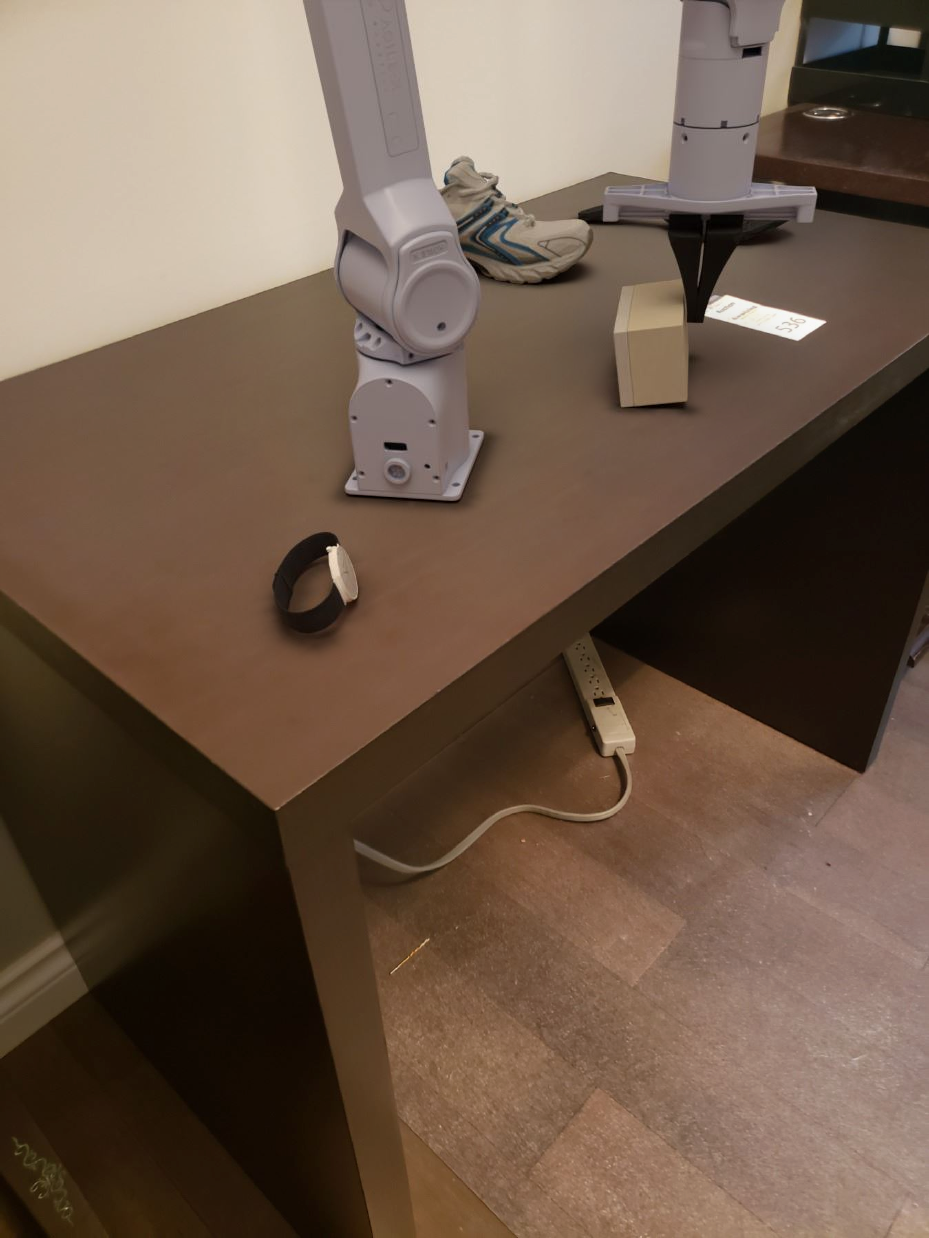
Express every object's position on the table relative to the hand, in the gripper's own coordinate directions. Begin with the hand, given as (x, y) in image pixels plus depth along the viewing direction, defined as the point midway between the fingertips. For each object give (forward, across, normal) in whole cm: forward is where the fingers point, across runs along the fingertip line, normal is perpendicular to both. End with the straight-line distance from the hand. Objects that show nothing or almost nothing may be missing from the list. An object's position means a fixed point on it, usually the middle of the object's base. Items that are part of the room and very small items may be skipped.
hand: (694, 318), depth 72 cm
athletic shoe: (+6, +22, -27) cm, 35 cm away
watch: (+5, +20, +32) cm, 38 cm away
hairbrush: (+6, +2, -42) cm, 42 cm away
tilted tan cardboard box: (+5, +2, 0) cm, 6 cm away
